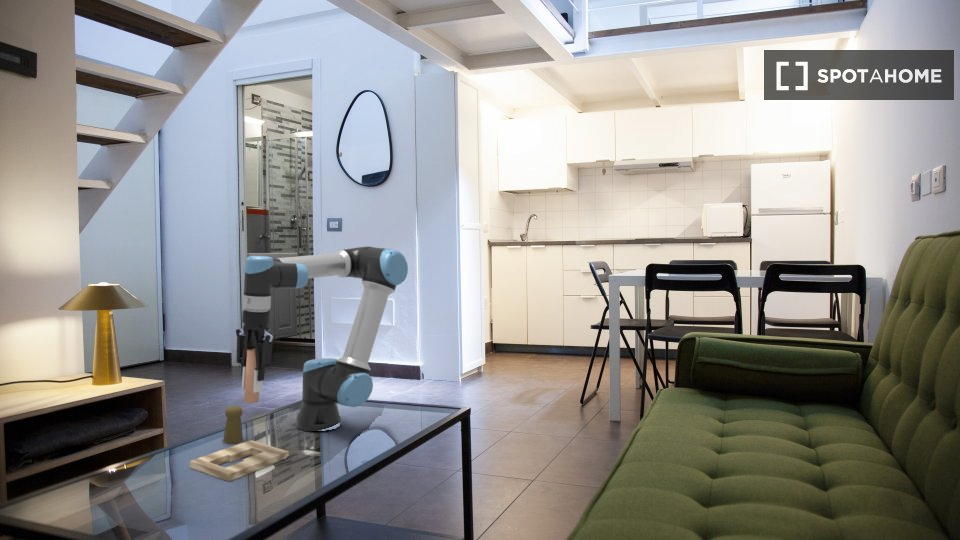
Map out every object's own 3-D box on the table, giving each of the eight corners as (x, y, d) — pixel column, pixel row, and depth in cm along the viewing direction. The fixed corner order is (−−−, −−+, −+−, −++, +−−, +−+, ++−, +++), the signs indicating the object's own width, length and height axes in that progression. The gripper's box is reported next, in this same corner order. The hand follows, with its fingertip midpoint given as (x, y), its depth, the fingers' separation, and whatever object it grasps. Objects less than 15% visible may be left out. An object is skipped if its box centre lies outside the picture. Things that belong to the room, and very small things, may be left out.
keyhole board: (250, 446, 212) (251, 440, 212) (288, 458, 204) (288, 451, 204) (190, 467, 193) (190, 460, 193) (228, 481, 185) (229, 474, 185)
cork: (241, 444, 214) (242, 409, 213) (221, 444, 213) (222, 409, 212) (244, 437, 220) (245, 404, 219) (225, 437, 219) (225, 403, 218)
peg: (251, 398, 200) (254, 348, 199) (261, 401, 198) (264, 350, 198) (240, 401, 197) (244, 349, 196) (250, 403, 195) (253, 351, 194)
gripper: (225, 307, 197) (221, 386, 198) (268, 314, 189) (263, 398, 190) (245, 305, 203) (241, 382, 205) (287, 312, 195) (282, 393, 197)
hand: (251, 389), depth 197 cm, fingers closed on peg, 4 cm apart
